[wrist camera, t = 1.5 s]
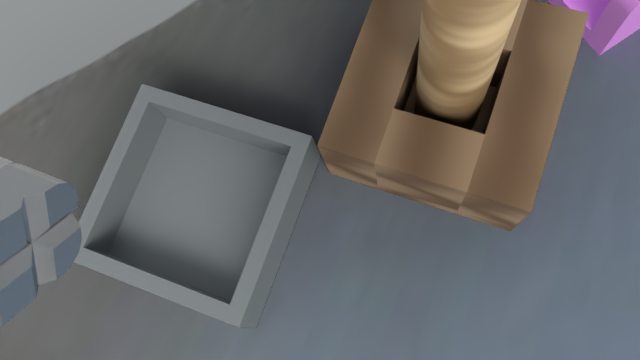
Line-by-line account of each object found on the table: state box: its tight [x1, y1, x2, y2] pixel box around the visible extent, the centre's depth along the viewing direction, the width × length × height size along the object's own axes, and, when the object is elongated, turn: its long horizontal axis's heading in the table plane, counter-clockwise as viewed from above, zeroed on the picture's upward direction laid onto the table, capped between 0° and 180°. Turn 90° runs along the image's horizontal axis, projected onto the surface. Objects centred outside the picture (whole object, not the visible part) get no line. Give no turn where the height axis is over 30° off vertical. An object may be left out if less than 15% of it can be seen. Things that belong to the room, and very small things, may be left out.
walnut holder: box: [317, 0, 589, 231], centre depth 34 cm, size 12×12×6 cm
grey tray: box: [74, 84, 321, 328], centre depth 36 cm, size 12×12×4 cm
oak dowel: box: [414, 0, 521, 130], centre depth 28 cm, size 4×4×16 cm
